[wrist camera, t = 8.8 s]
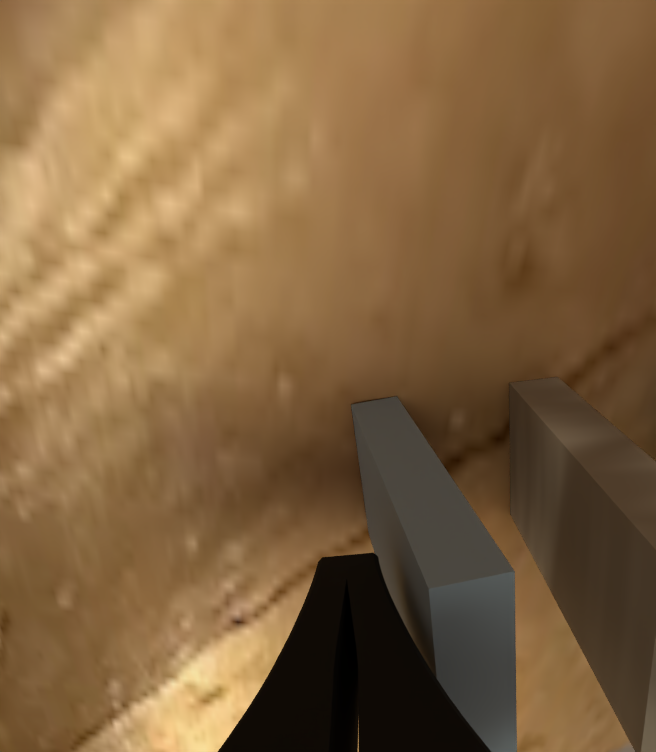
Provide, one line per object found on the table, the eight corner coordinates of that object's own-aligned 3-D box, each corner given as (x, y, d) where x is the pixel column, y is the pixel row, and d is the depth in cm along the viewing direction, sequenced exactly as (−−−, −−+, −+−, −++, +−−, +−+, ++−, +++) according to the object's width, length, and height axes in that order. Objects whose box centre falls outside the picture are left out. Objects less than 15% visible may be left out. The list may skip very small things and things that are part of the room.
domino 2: (557, 376, 16) (760, 551, 8) (553, 510, 17) (718, 755, 10) (508, 382, 16) (665, 560, 8) (510, 514, 17) (639, 759, 10)
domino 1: (396, 396, 16) (514, 571, 8) (409, 524, 18) (516, 764, 10) (350, 404, 16) (428, 588, 8) (368, 532, 18) (445, 781, 10)
